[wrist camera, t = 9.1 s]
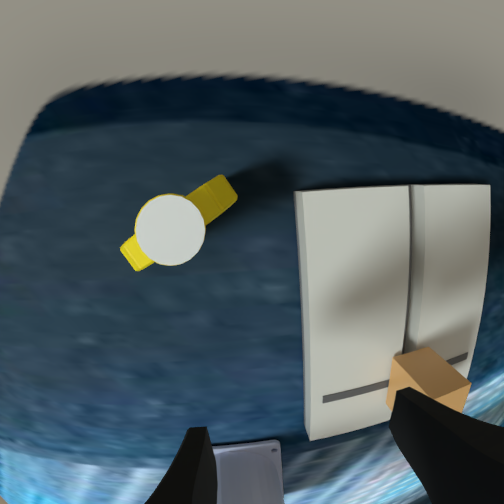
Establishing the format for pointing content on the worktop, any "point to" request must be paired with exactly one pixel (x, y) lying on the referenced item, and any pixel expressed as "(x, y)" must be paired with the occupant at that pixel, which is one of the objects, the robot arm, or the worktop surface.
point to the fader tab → (428, 378)
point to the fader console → (385, 290)
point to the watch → (176, 224)
